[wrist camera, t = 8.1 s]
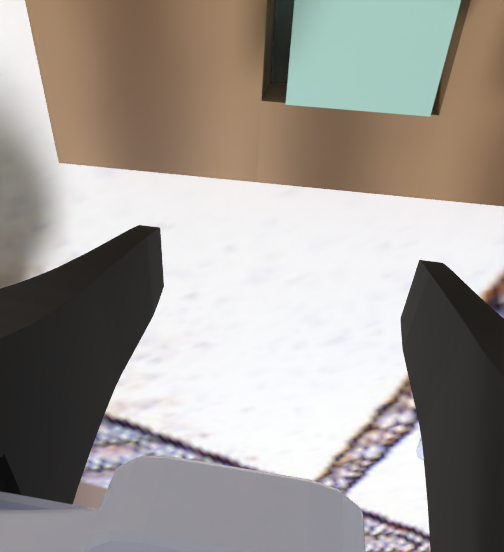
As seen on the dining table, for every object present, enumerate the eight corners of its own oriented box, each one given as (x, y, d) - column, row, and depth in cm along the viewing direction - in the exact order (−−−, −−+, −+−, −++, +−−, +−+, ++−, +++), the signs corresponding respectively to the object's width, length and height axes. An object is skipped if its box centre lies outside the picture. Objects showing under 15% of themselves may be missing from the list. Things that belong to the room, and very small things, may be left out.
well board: (830, -246, 12) (962, -300, 9) (603, 186, 19) (645, 220, 16) (27, -256, 14) (-38, -303, 11) (91, 139, 21) (58, 162, 18)
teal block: (429, -56, 15) (478, -66, 10) (401, 73, 17) (430, 116, 12) (309, -62, 15) (300, -74, 11) (297, 65, 18) (285, 104, 13)
